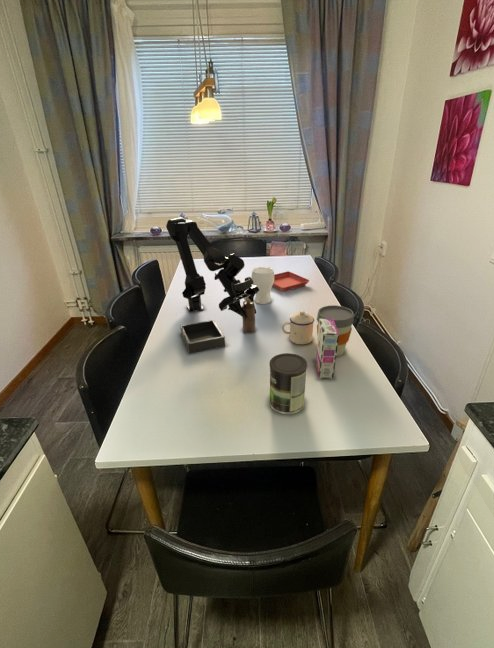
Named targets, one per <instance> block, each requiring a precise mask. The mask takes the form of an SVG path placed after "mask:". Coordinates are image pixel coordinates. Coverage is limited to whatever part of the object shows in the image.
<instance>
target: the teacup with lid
mask: <svg viewBox="0 0 494 648" xmlns="http://www.w3.org/2000/svg"><path fill="white" fill-rule="evenodd" d="M314 322H315V317H314V316H313V315H312V314H310V313H307V312H306V311H305V310H300V311H299V312H296V313H293V314H292V315H290V317H289V321H285V322H284V323H283V324H282V325H281V331H282V332H283V333H284V334H286V335H289V340H290V341H291V342H292V343H293V344H296V345H307V344H310V343H311V342H312V341H313V333H314ZM286 325H289V331H286V330H285V326H286Z"/></svg>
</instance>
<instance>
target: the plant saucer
mask: <svg viewBox="0 0 494 648" xmlns="http://www.w3.org/2000/svg"><path fill="white" fill-rule="evenodd" d="M308 283H310V279H308V278H305V277H303V276H301V275H299V274H296V273H294V272H292V271H284V272H279V273H274V283H273V286H272V287H273V288H275V289H277V290H279V291H281V292H287V291H290V290H294V289H297V288H301V287H304V286H306V285H307V284H308Z"/></svg>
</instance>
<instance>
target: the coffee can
mask: <svg viewBox="0 0 494 648" xmlns="http://www.w3.org/2000/svg"><path fill="white" fill-rule="evenodd" d="M307 369H308V361H307V360H306V358H305V357H304V356H301V355H299V354H296V353H292V352H291V353H289V352H288V353H287V352H286V353H285V352H284V353H279V354H276V355H274V356H273V357H272V358H270V360H269V400H268V402H269V406H270V408H271V409H272V410H273V411H274V412H276V413H279V414H281V415H294V414H297V413H299V412H301V411H302V410H303V409H304V407H305V396H306V395H305V393H306V381H307Z"/></svg>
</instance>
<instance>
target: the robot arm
mask: <svg viewBox="0 0 494 648" xmlns="http://www.w3.org/2000/svg"><path fill="white" fill-rule="evenodd" d="M165 227H166V231H167V232H168V235H169V237H170V238H171V239H172V240H173V241H174V242H175V244H176V247H177V251H178V253H179V257H180V261H181V263H182V267H183V270H184V274H185V280H184V286H185V288H184V289H183V291H182V292H181V295H182V297H183V298H184V299H186V300H187V303H188V305H187V306H186V307H187V309H188V311H189V313H193V312H197V311H199V312H200V311H203V310H205V307H203V304H202V298H201V296H202V295H203V296H204V295H205V292H206V288H207V287H206V285H207V283H206V282H205V277H204V276H203V275H200V274H199V272H198V271H197V267H196V264H195V261H194V257H193V254H192V251H191V247H190V243H189V240H188V238H190V239H191V241H192V243H194V245H195V246H196V247H197V249H198V251H200V253H201V254H202V256H203V262H204V264H205V266H206V267H207V269H208V270H209V271H210V272H215V273H214V278H213V279H214V281H217V280H218V281H219V282H220V284H221V285H222V287H223V288H224V289H223V292H224V293H227V294H228V296H226V297H224V298H222V300H221V301H220V302H219V303H218V309H219V310H220V311H221V312H224V311H225V310H228V311H232V312H234V313H236V314H238V315H239V316H240V317H244V318H245V319H246V318H247V315H246V313H245V312H244V310H243V308H242V304H241V300H242V299H244V301H246V300H247V299H250V301H253V305H254V306H255V307H256V304H255V296H256V293H257V292H258V291H259V288H258V287H257V286H255V285H254V286H253V283H254V282H253V280H252V278H251V276H247V277H245V278H244V280H243V281H241V280H240V279H237V278H236V276H238V275H239V274H240V273H241V271H242V270H243V269H244V268H245V261H244V260H243V259H242V258H241V257H239V256H237V255H236V254H235V253H230V254H229V256H228V257H226V256H225V255H224V254H223V253H222V252H221V251H220V250H219V249H217V248H215V247H213V245H212V244H211V243H210V241H209V240H208V238H207V237H206V236H205V235H204V233H203V231H202V230H201V229H200V227H198V224H197V222H196V221H195V220H190V219H185V218H184V217H176V218H172V219H168V220H167V222H166V224H165ZM217 271H218V272H217ZM256 314H257V309H256V308H255V315H256Z"/></svg>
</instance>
